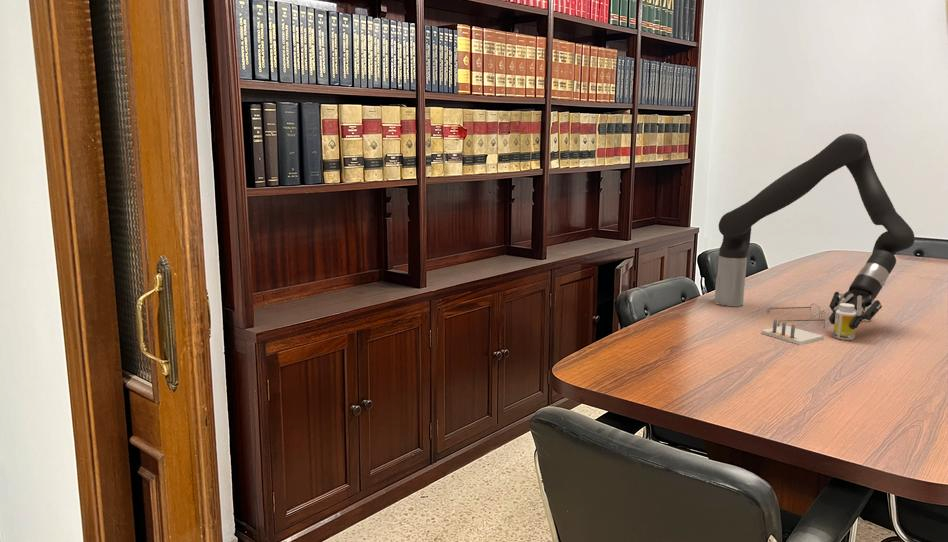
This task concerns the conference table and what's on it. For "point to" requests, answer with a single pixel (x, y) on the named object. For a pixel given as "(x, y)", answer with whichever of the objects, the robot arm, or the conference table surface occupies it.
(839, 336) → the supplement bottle
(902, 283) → the conference table surface
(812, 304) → the eyeglasses
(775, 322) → the header board
